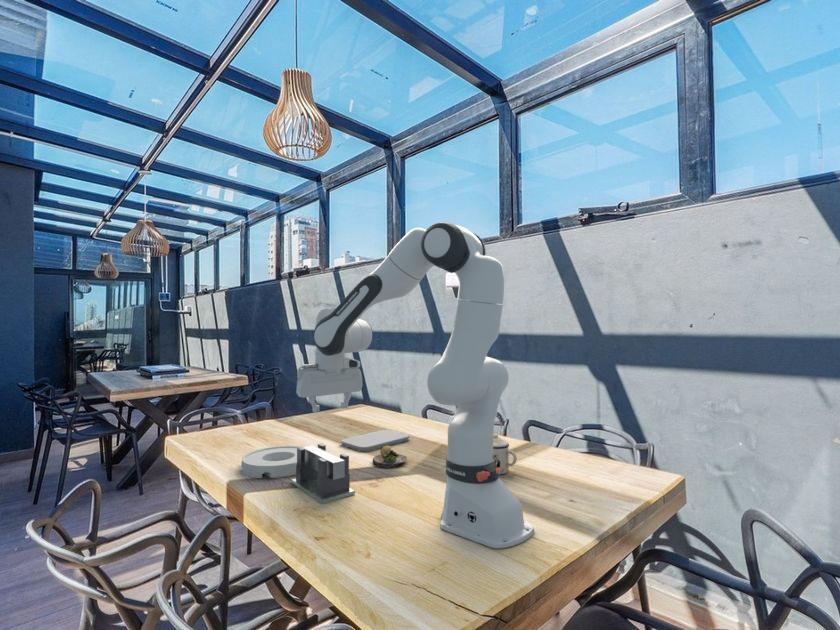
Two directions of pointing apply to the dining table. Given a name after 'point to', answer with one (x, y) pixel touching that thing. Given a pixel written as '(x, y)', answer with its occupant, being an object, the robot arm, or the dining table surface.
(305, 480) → the bracket stand
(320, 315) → the robot arm
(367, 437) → the tablet
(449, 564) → the dining table surface
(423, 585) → the dining table surface
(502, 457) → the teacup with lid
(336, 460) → the rail
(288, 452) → the ashtray
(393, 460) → the burger
